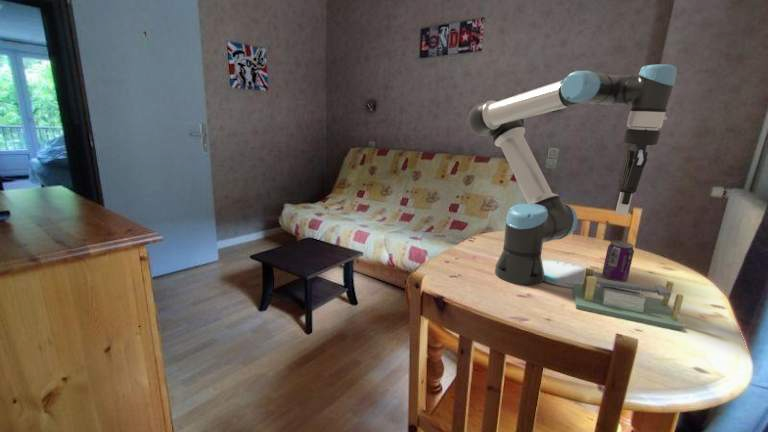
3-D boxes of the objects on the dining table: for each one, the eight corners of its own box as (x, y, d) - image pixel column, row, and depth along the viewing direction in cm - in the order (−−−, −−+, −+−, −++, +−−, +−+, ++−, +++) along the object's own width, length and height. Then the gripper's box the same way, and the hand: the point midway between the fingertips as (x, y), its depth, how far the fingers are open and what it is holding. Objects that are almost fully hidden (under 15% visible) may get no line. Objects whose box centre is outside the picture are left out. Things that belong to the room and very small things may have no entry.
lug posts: (584, 301, 95) (588, 278, 94) (581, 287, 103) (585, 266, 102) (676, 320, 87) (683, 295, 85) (666, 303, 95) (672, 280, 93)
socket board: (575, 308, 94) (576, 304, 94) (572, 285, 107) (573, 282, 107) (680, 330, 85) (682, 326, 84) (663, 303, 98) (664, 299, 98)
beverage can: (631, 283, 110) (639, 248, 107) (607, 281, 111) (614, 246, 108) (621, 274, 116) (628, 241, 113) (598, 272, 118) (605, 239, 115)
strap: (586, 284, 97) (587, 279, 96) (585, 279, 100) (586, 274, 100) (670, 297, 89) (671, 292, 88) (665, 291, 92) (666, 285, 92)
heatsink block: (602, 305, 94) (605, 291, 93) (598, 291, 102) (601, 278, 101) (642, 313, 90) (646, 299, 89) (635, 298, 98) (638, 285, 97)
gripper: (667, 130, 83) (641, 222, 90) (654, 128, 94) (632, 211, 101) (630, 128, 86) (608, 218, 93) (622, 127, 97) (603, 207, 104)
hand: (621, 214), depth 97 cm, fingers closed
